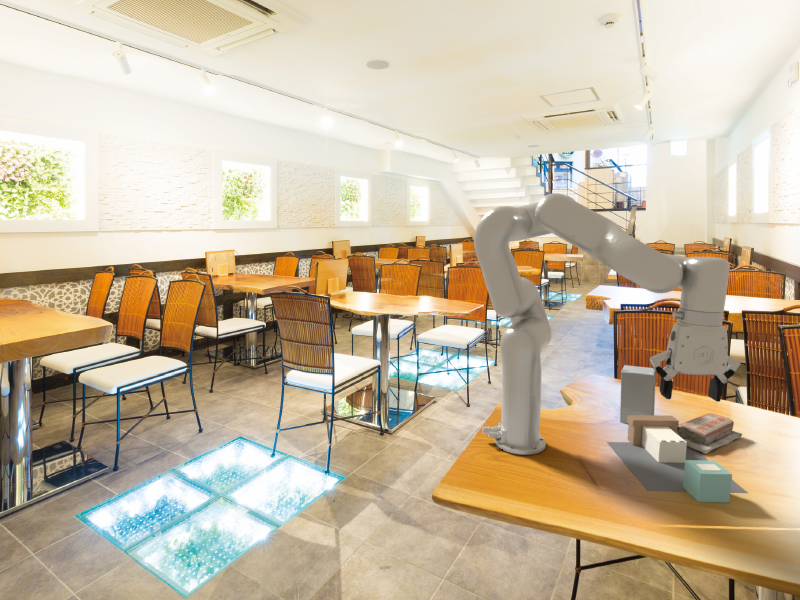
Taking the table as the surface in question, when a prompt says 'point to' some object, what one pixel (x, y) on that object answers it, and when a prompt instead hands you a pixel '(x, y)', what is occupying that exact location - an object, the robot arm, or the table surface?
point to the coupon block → (657, 437)
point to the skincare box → (637, 391)
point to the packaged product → (707, 432)
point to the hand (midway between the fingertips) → (689, 398)
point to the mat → (658, 468)
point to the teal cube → (707, 481)
